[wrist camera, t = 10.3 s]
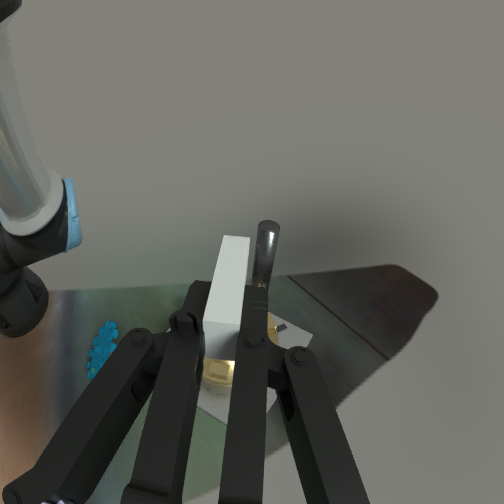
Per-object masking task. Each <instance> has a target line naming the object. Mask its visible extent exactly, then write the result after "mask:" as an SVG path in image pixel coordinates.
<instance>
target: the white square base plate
mask: <svg viewBox="0 0 504 504" xmlns="http://www.w3.org/2000/svg"><path fill="white" fill-rule="evenodd" d="M268 313H269V312H268ZM271 315H272V317H273V319H274V321H275V323H276V325H277V327H276V329H277V333H278V346H280V347H283V348H286V349H289V348H291V347H294V346H303V347H307V345H308V344H309V342H310V340H311V338H312V336H313V335H312V334H310V333H308V332H306V331H304V330H302V329H300V328H298V327H296V326H294V325H292V324H290V323H289V322H287V321H285V320H283V319H281V318H279V317H277V316H275V315H273V314H271ZM168 331H171V329H170V328H169V329H168V330H167V331H166V332H168ZM230 396H231V389H226V388H218V387H215V386H211V385H209V384H207V383H205V382H203V381H201V386H200V391H199V397H198V402H197V407H198V408H199V409H201V410H202V411H204V412H205V413H207V414H208V415H210V416H211V417H213V418H215V419H216V420H218V421H219V422H221V423H223V424H224V425H226V426H227V422H228V413H229V405H230ZM276 398H277V395H276V391H275V390H274V389H272V388H269V387H267V410H266V414H267V412H268V411H269V409H270V408H271V406H272V404H273V403H274V401H275V400H276Z"/></svg>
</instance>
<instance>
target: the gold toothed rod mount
mask: <svg viewBox="0 0 504 504" xmlns="http://www.w3.org/2000/svg"><path fill="white" fill-rule="evenodd" d="M279 231H280V226H279V224H278V223H276V222H274V221H271V220H264V221H262V222H260V223H259V225H258V232H257V240H256V249H255V257H254V265H253V273H252V281H251V286H260V287H265V289H266V291H267V293H268V289H269V284H270V278H271V273H272V268H273V263H274V258H275V252H276V247H277V242H278V236H279ZM276 327H277V325H276V323H275V321H274V319H273V317H272V315H271V313H268V330H267V332H268V336H269V338H270V340H271V341H272V342H273V343H274V344H276V345H278V333H277V329H276ZM234 362H235V361H226V360H218V359H210V358H205V356H204V361H203V363H204V370H203V375H202V380H201V381H203V382H205V383H207V384H209V385H211V386H215V387H218V388H226V389H231V388H232V379H233V371H234Z"/></svg>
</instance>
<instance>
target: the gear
mask: <svg viewBox="0 0 504 504" xmlns="http://www.w3.org/2000/svg"><path fill="white" fill-rule="evenodd" d="M116 327H117V325H116V323H115V322H113V321H111V322H108V321H106V322H105V325H104V327H100V329H99V335H98V337H95V338H94V340H93V344H94V350H93V349H90V352H89V356H90V357H92V360H91V362H90V361H88V363H87V369H90V370H89V371H88V378H90V379H91V380H92V379H93V378H94V377H95V375H96V374H97V372H98V371H99V370H100V368H101V367H102V366H103V364H104V363H105V361H106V360H107V359H108V357H109V356H110V355H111V353H112V352H113V351H114V349H115V348H116V347H117V344H115V343H112V339H113V338H114V339H116V338H117V337H118V330H116Z"/></svg>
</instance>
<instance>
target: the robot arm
mask: <svg viewBox="0 0 504 504" xmlns="http://www.w3.org/2000/svg"><path fill="white" fill-rule="evenodd" d="M21 7H22V0H0V332H1V333H2V334H3V335H5V336H8V337H19V336H22V335H24V334H26V333H28V332H29V331H30V330H32V329H33V328H34V327H35V326H36V325H37V324H38V323H39V321H40V320H41V318H42V317H43V315H44V313H45V311H46V308H47V304H48V291H47V289H46V287H45V285H44V283H43V282H42V280H41V279H40V278H39V277H38V276H37V275H36V274H35V273H34V272H32V271H31V270H30V269H29V268H28V267H27V265H30V264H33V263H35V262H38V261H40V260H43V259H46V258H49V257H51V256H54V255H57V254H59V253H62V252H64V253H65V252H67V251H68V250H70V249H73V248H75V247H77V246H79V245H80V244H81V242H82V232H81V227H80V221H79V216H78V210H77V204H76V199H75V191H74V184H73V180H72V179H71V178H62V179H61V178H60V176H59V175H58V174H57V172H55V171H54V170H53V169H51V168H48V167H45V166H44V163H43V161H42V158H41V155H40V153H39V150H38V148H37V145H36V142H35V139H34V136H33V133H32V130H31V127H30V125H29V121H28V118H27V115H26V111H25V108H24V105H23V101H22V98H21V94H20V90H19V86H18V82H17V78H16V73H15V68H14V63H13V58H12V52H11V47H10V40H9V33H8V27H9V25H10V24H11V22H12V20H13V19H14V18H15V16H16V15H17V13H18V12H19V11H20V9H21ZM249 242H250V238H247V237H237V236H226V235H224V238H223V242H222V245H221V249H220V253H219V257H218V261H217V265H216V269H215V273H214V277H213V280H212V282H206V281H198V280H196V281H194V282H193V283H192V284H191V285H190V287H189V290H188V293H187V296H186V299H185V302H184V305H183V308H182V310H179V311H176V312H175V313H173V314H172V315H171V316H170V318H169V323H170V329H171V331H168V332H165V333H160V334H151V332H150V331H148V330H147V329H144V328H135V329H132V330H130V331H129V332H128V333H127V334H126V335H125V336H124V338H123V339H122V340H121V341H120V343H119V344H118V345H117V347H116V348H115V349H114V351H113V352H112V353H111V355H110V356H109V357H108V359H107V360H106V361H105V363H104V364H103V366H102V367H101V368H100V370H99V371H98V372H97V374H96V375H95V377H94V378H93V379H92V381H91V382H90V383H89V385H88V386H87V388H86V389H85V390H84V392H83V393H82V395H81V396H80V398H79V399H78V400H77V402H76V403H75V405H74V406H73V408H72V409H71V411H70V412H69V413H68V415H67V416H66V418H65V419H64V421H63V422H62V424H61V425H60V427H59V428H58V430H57V431H56V433H55V434H54V436H53V437H52V439H51V440H50V442H49V444H48V445H47V447H46V448H45V450H44V451H43V453H42V455H41V456H40V458H39V459H38V461H37V463H36V464H35V466H34V467H33V468H32V469H30V470H29V471H27V472H26V473H24V474H23V475H21V476H20V477H18V478H17V479H15V480H14V481H12V482H11V483H9V484H8V485H6V486H5V487H4V488H3V492H2V497H3V501H4V503H5V504H84V503H85V502H86V501H87V500H88V499H89V498H90V496H91V495H92V493H93V492H94V490H95V488H96V486H97V485H98V483H99V481H100V479H101V478H102V476H103V474H104V472H105V471H106V469H107V467H108V466H109V464H110V462H111V460H112V459H113V457H114V455H115V453H116V452H117V450H118V448H119V447H120V445H121V443H122V441H123V440H124V438H125V436H126V435H127V433H128V431H129V430H130V428H131V426H132V424H133V423H134V421H135V419H136V418H137V416H138V414H139V413H140V411H141V409H142V407H143V406H144V404H145V402H146V401H147V399H148V397H149V396H150V394H151V392H152V391H153V394H152V397H151V401H150V405H149V408H148V412H147V416H146V420H145V424H144V427H143V431H142V435H141V439H140V443H139V447H138V452H137V456H136V460H135V464H134V469H133V473H132V478H131V481H130V483H129V484H128V485H127V486H126V487H125V489H124V491H123V494H122V498H121V503H120V504H182V493H183V486H184V480H185V473H186V467H187V461H188V455H189V449H190V443H191V437H192V431H193V425H194V419H195V413H196V408H197V402H198V397H199V391H200V386H201V380H202V375H203V370H204V363H203V361H204V356H205V358H210V359H218V360H226V361H235V362H234V371H233V379H232V388H231V396H230V405H229V413H228V422H227V431H226V439H225V448H224V457H223V465H222V474H221V483H220V492H219V501H218V504H262V495H263V477H264V457H265V435H266V410H267V387H269V388H272V389H274V390H275V391H276V395H277V399H278V402H279V406H280V410H281V413H282V417H283V421H284V424H285V428H286V431H287V435H288V439H289V442H290V446H291V449H292V453H293V456H294V460H295V463H296V467H297V470H298V474H299V478H300V481H301V484H302V488H303V491H304V495H305V498H306V502H307V504H370V502H369V500H368V497H367V494H366V491H365V488H364V485H363V483H362V480H361V477H360V474H359V471H358V469H357V466H356V463H355V460H354V458H353V455H352V453H351V449H350V447H349V444H348V441H347V439H346V436H345V433H344V431H343V428H342V425H341V423H340V420H339V418H338V415H337V412H336V409H335V407H334V404H333V401H332V399H331V396H330V394H329V391H328V388H327V386H326V383H325V381H324V378H323V375H322V373H321V370H320V368H319V365H318V363H317V360H316V358H315V355H314V354H313V352H312V351H311V350H309V349H308V348H306V347H303V346H294V347H291V348H289V349H286V348H283V347H280V346H278V345H276V344H274V343H273V342H272V341H271V340H270V338H269V336H268V332H267V330H268V293H267V291H266V289H265V287H260V286H250V285H245V284H246V275H247V264H248V253H249ZM153 389H154V390H153Z"/></svg>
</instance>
